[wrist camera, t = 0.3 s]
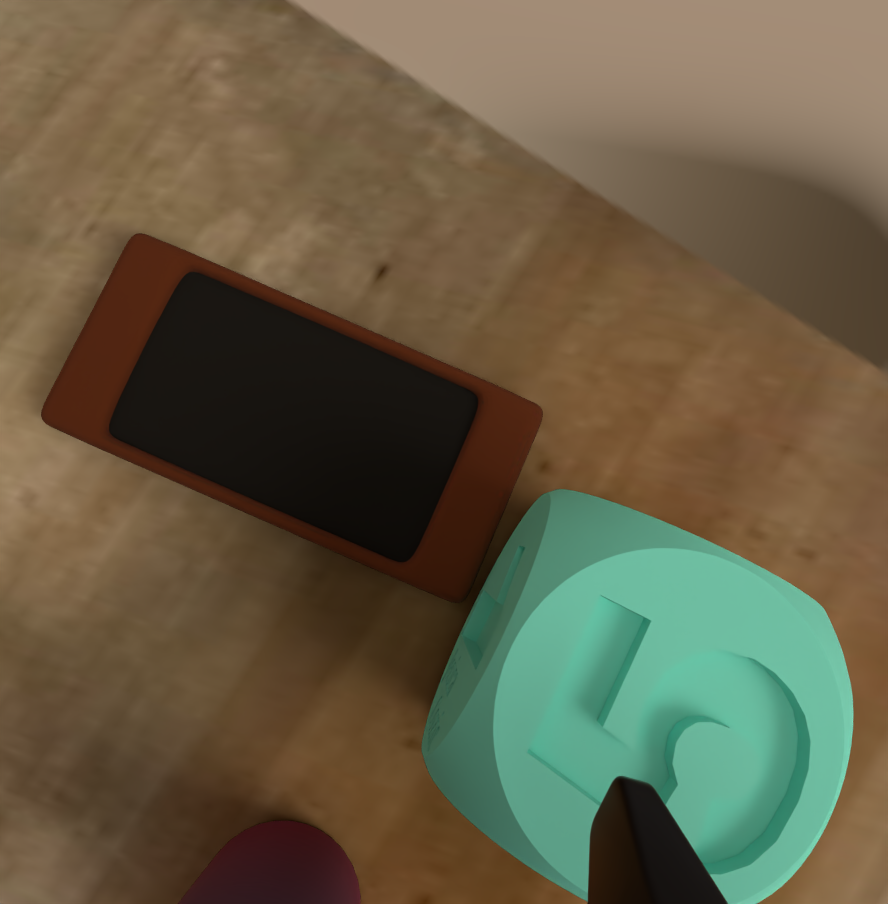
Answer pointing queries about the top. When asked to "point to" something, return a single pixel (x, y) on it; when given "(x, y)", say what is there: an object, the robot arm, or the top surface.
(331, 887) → the cup
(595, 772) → the decorative dice
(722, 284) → the top surface
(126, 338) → the smartphone
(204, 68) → the top surface
